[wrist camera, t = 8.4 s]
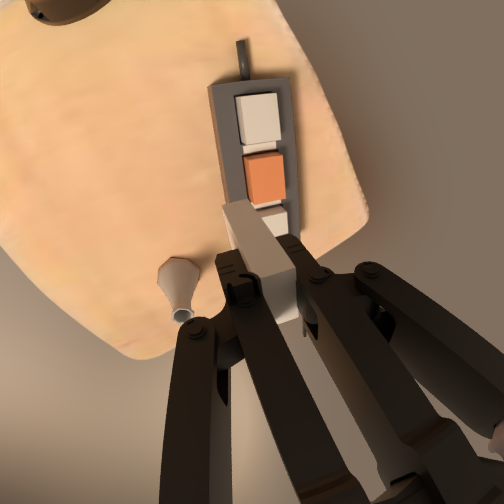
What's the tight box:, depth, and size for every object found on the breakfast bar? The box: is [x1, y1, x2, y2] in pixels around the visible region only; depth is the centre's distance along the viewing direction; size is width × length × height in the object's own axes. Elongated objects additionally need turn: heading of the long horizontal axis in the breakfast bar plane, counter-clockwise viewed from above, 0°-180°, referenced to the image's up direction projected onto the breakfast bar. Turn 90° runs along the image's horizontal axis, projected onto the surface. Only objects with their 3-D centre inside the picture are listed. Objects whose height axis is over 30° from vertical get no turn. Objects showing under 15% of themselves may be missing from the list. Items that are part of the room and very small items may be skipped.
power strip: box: [207, 40, 300, 240], centre depth 36 cm, size 32×10×4 cm, turn 7°
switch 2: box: [242, 150, 286, 205], centre depth 36 cm, size 6×4×4 cm
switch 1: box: [234, 93, 281, 145], centre depth 32 cm, size 6×4×4 cm
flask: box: [157, 258, 200, 324], centre depth 41 cm, size 7×7×10 cm
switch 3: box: [256, 205, 288, 237], centre depth 41 cm, size 6×4×4 cm
